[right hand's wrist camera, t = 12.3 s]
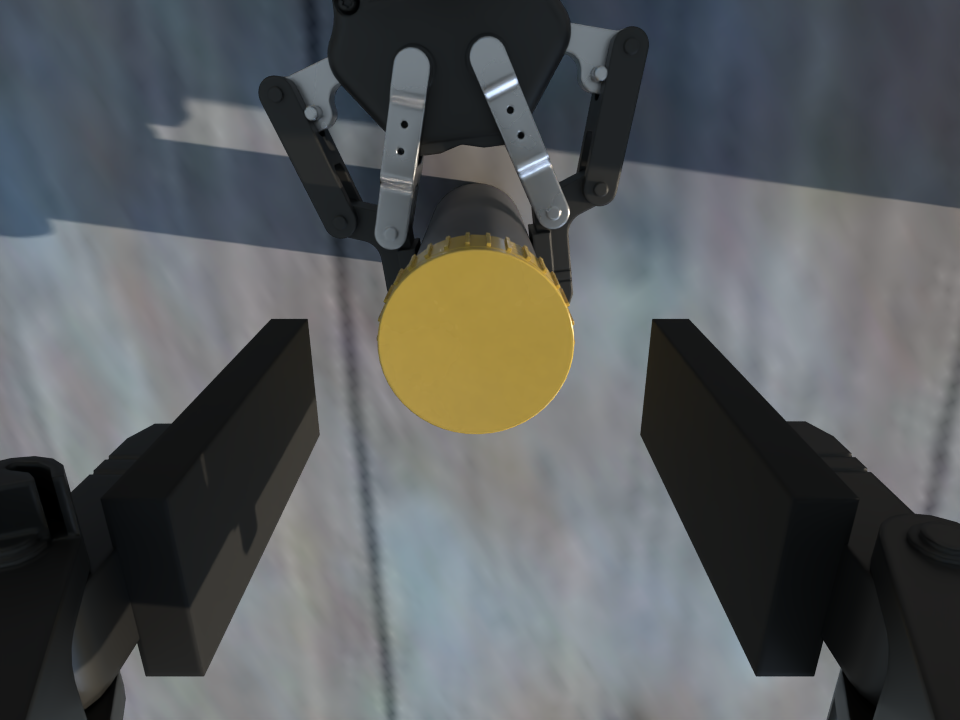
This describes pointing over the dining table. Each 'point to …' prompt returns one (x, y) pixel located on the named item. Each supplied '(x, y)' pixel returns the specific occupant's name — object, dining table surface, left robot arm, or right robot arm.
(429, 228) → the dark grey cylinder
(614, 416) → the dining table surface
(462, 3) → the left robot arm
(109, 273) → the dining table surface
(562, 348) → the lid
